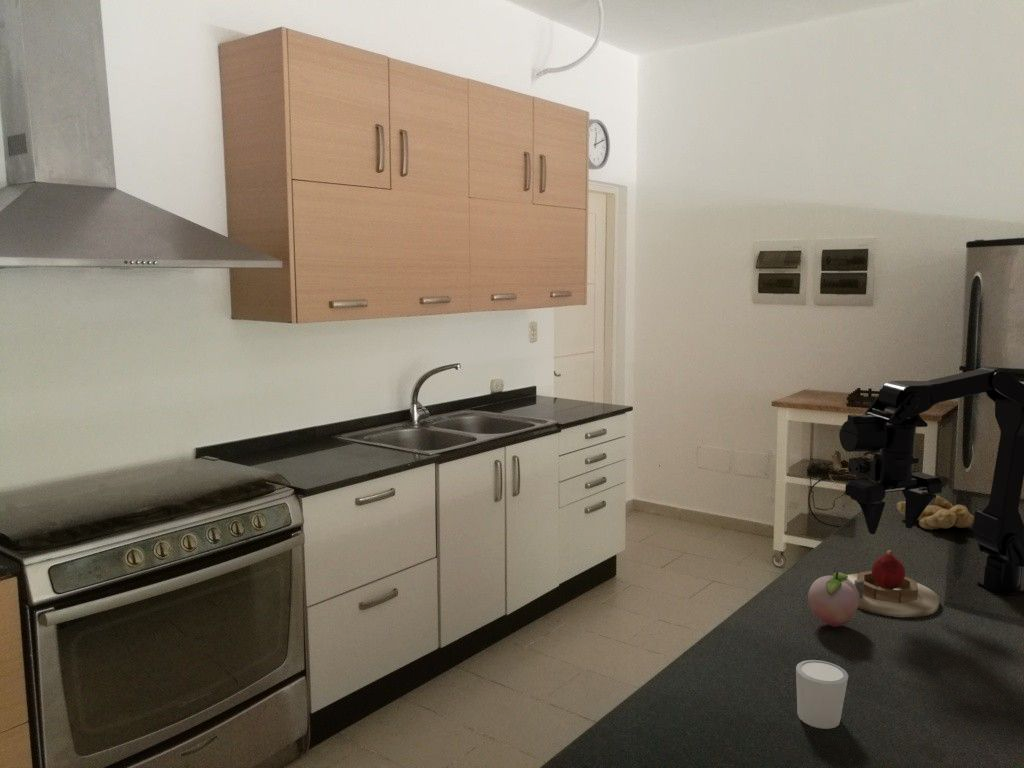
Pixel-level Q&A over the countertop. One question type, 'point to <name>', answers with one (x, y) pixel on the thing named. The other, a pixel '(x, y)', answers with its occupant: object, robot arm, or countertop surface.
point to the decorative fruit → (834, 599)
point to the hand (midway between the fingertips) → (890, 530)
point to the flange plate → (901, 609)
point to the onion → (888, 571)
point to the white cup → (820, 693)
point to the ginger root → (942, 515)
